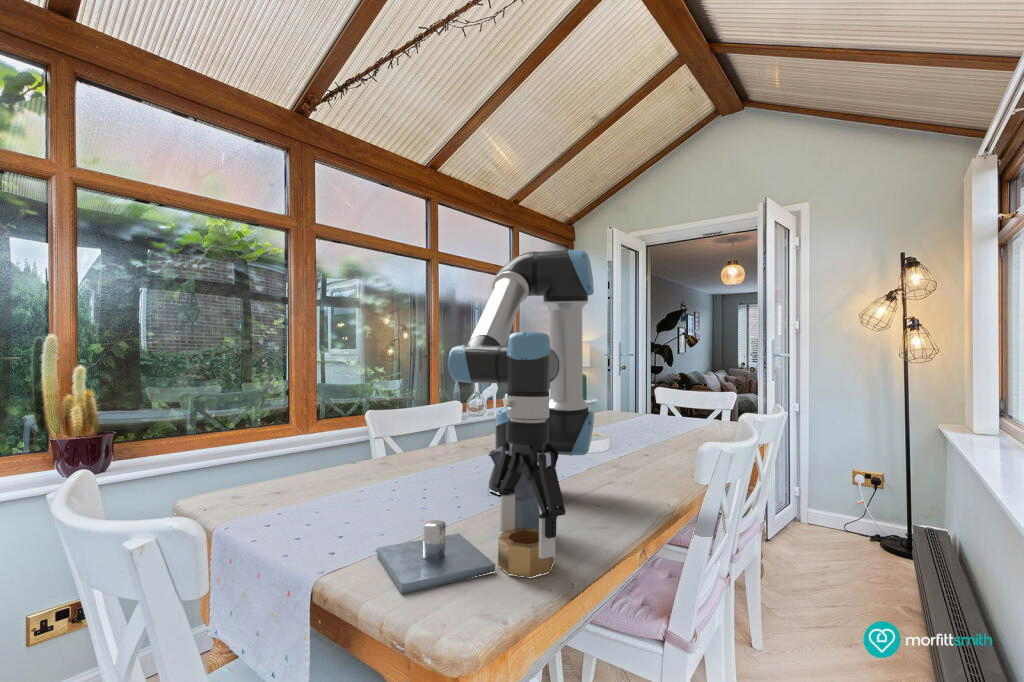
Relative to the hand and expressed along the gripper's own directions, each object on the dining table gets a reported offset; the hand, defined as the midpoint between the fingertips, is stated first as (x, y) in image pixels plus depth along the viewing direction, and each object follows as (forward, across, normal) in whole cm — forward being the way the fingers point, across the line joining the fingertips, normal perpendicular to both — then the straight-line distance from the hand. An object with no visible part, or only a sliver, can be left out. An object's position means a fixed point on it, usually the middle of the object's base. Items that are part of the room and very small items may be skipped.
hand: (525, 543), depth 84 cm
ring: (+4, 0, 0) cm, 4 cm away
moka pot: (+4, -15, +8) cm, 18 cm away
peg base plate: (+4, -8, -14) cm, 17 cm away
